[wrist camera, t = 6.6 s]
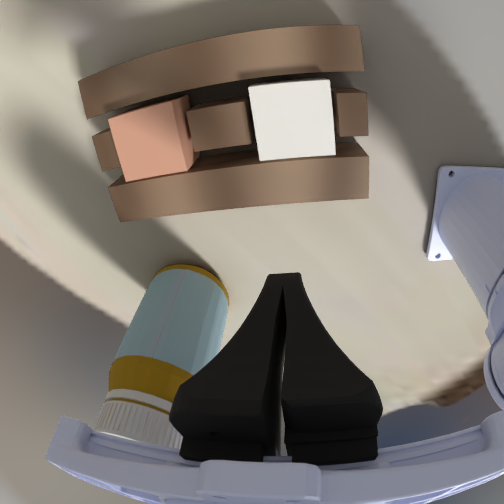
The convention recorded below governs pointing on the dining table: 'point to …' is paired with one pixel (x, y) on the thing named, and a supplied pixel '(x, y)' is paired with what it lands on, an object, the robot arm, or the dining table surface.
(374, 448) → the robot arm
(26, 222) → the dining table surface
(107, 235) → the dining table surface
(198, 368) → the bottle
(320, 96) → the cream key
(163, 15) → the dining table surface
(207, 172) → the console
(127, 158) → the terracotta key
